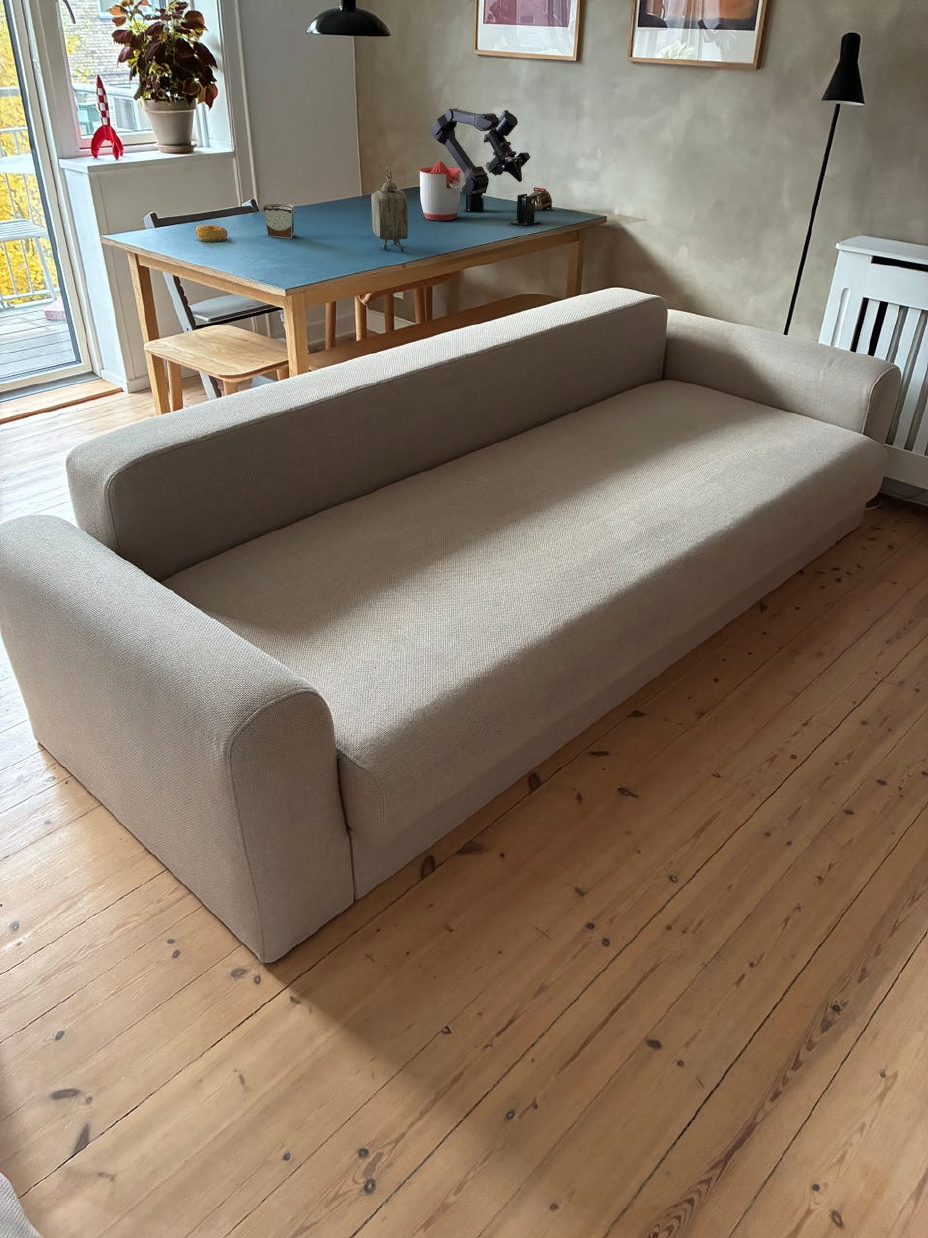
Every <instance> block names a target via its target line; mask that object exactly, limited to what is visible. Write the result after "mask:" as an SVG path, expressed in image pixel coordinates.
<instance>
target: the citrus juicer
mask: <svg viewBox="0 0 928 1238" xmlns="http://www.w3.org/2000/svg"><path fill="white" fill-rule="evenodd" d="M418 171H419V192H420V203H421V208H422V213H423V215H424V218H425V219H427V220H432V221H436V222H442V221H450V220H455V219H456V218H457V215H458V212H459V207H460V204H461V203H460V202H461V172H462V170H461V168H457V167H449V166H446V165H445V164H444V162H443V161H442V160H438V162H436V163H435V165H434V166H430V167H429V166H428V167H422V168H420V169H419V170H418Z"/></svg>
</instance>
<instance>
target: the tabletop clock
mask: <svg viewBox="0 0 928 1238" xmlns="http://www.w3.org/2000/svg"><path fill="white" fill-rule="evenodd" d="M388 171H389V175H388ZM385 178H386V180H387V181H386V182H384V183H383V184H382V185H381V189H380V190H376V191H374V192H373V193H372V194H371V195H370V200H371V201H370V202H371V223H372V225H371V226H372V231H373V233H374V235H375V236H376V237H377V238H379V239H381V240H383V241H384V243H383V244H382V246H381V248H382V249H383V250H384V251H385V250H387V248H388V245H387V242H388V241H392V242H391V243H392V245H393V246H397V245H398V247H399V252H401V253H403V252H405V247H404V246H402V244H401V241H400V240H407V239H408V235H409V218H408V217H409V215H408V200H407V196H406V194H405V192H404V191H403V190H402V189H398V187H397V185H396V184H395V183H394V182H392V178H393V175H392V170H391V167H389V166H386V167H385Z"/></svg>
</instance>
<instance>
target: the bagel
mask: <svg viewBox="0 0 928 1238" xmlns="http://www.w3.org/2000/svg"><path fill="white" fill-rule="evenodd" d="M195 234H196V236H197V239H198V240H199V241H201V242H207V243H209V242H210V243H211V242H212V243H213V242H220V241H225V240H227V238H228V237H229V234H228V230H226V228H224V227H223V226H219V225H216V224H215V225H214V224H206V225H204V224H199V225H197V226H196V227H195Z"/></svg>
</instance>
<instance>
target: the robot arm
mask: <svg viewBox="0 0 928 1238" xmlns="http://www.w3.org/2000/svg"><path fill="white" fill-rule="evenodd" d="M458 123H460V124H461V123H462V124H466V125H469V126H473V127H474V128H475V129H476V130H478V131H480V132H488V133H486V134H484V138H483V144H485V143H489V144H490V147H492V149H493V152H492V156H493V158H492V159H491V160H490V161H487V162H486V163H485V165H484V166H485V168H486V170H487V171H488V173H489V174H492V175H494V176H495V177H496V176H502V175H503V173H508V174H509V175H511V176H512V177H513V179H515V180H516V181H517V182H518V183H522V181H523V175H522V168H523V167H524V166H525V165H526V164H527V162H528V161H529V160H530V159H531V155H530V153H529V152H526V151H524V152H519V153H518V152H517V151H516V150H515V151H514V150H513V149H512V147H511V145H512V142H511V141H508V140H507V139H506V137H508V136H509V135H510V134H511V133H512V132H513V131H514V129H515V128H516V127H517V125H518V123H519V121H518V118H517V116H516V115H514V114H513V113H511V112H509V110H508V109H505V110H503V111H502V112H501V114H500V115H499V117H498V116H497V114H496V113H493V112H489V113H488V112H487V113H476V112H471V111H467V110H462V109H458V108H448V109H447V110H446V111H445V112H443V114H442V115H441V116H440V117H438V118H437V119H436V120H435V121H434V122H432V123H431V127H430V133H431V136H432V137H433V138H434V139H435V140H436V141H437V142H438V143H439V144H441V145H443V146H444V147H445V148H446V149H447V151H448V153H450V156H451V157H452V158H453V159H454V161H455V162H456V164H457V165H458V167H459V169H460V170H461V172H462V173H463V175H464V182H465V183H464V185H463V186H462V187H461V192H462V195H465V209H464V212H466V213H467V212H469V213H482V212H483V210H484V209H485V198H484V194H486V193H487V191H488V187H489V183H490V179H489V175H488V173H487V172H486V171H485V169H484V167H483V165H482V166H475V164H474V163H473V161H472V160H471V159H470V157H469V156H468V154H467V152H466V151H465V150H464V148H463V146H462V145H461V144H460V142H459V141H458V139H457V138H456V130H455V129H456V127H457V125H458ZM517 153H518V155H517Z"/></svg>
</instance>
